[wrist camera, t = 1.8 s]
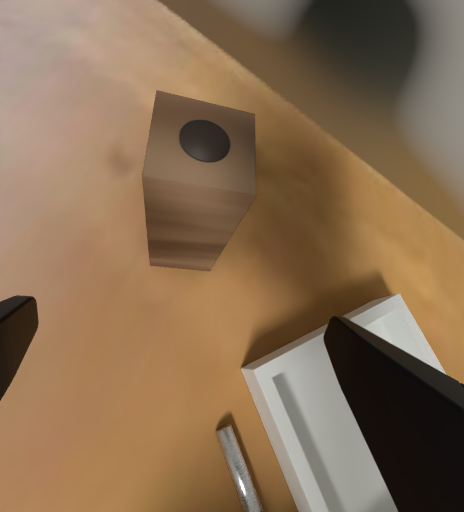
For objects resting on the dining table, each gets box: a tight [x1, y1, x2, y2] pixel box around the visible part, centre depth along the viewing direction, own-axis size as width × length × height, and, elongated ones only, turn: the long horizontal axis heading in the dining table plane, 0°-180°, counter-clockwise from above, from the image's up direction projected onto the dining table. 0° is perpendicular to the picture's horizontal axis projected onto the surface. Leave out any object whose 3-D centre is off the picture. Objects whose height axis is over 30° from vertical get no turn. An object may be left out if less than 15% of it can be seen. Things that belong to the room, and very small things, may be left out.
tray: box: [241, 293, 446, 512], centre depth 20 cm, size 15×15×3 cm
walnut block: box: [142, 90, 256, 271], centre depth 18 cm, size 5×5×12 cm
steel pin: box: [215, 423, 264, 512], centre depth 18 cm, size 7×1×1 cm, turn 24°
